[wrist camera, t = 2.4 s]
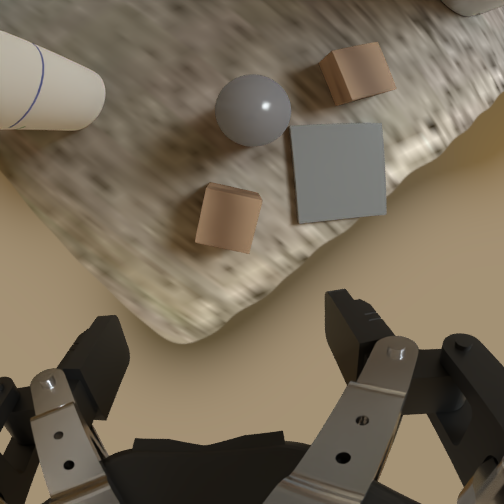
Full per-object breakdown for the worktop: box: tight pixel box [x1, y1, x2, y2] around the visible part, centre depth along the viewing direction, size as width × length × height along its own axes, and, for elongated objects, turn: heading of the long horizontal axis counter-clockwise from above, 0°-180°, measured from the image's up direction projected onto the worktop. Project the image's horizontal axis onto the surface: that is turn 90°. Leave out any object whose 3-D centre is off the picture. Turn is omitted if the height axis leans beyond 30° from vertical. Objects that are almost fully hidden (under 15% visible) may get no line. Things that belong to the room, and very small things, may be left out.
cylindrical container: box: [0, 30, 105, 131], centre depth 16 cm, size 7×7×25 cm
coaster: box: [289, 123, 386, 224], centre depth 32 cm, size 10×10×1 cm
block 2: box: [318, 42, 397, 106], centre depth 27 cm, size 5×5×5 cm
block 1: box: [195, 182, 263, 254], centre depth 31 cm, size 5×5×5 cm
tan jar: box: [215, 74, 291, 147], centre depth 26 cm, size 6×6×9 cm
